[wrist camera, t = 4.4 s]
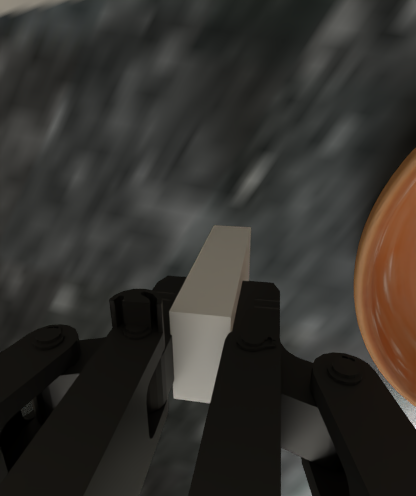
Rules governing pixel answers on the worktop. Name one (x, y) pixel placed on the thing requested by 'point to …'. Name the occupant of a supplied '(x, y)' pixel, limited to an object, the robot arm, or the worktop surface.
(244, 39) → the worktop surface
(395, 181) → the saucer
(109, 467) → the robot arm
